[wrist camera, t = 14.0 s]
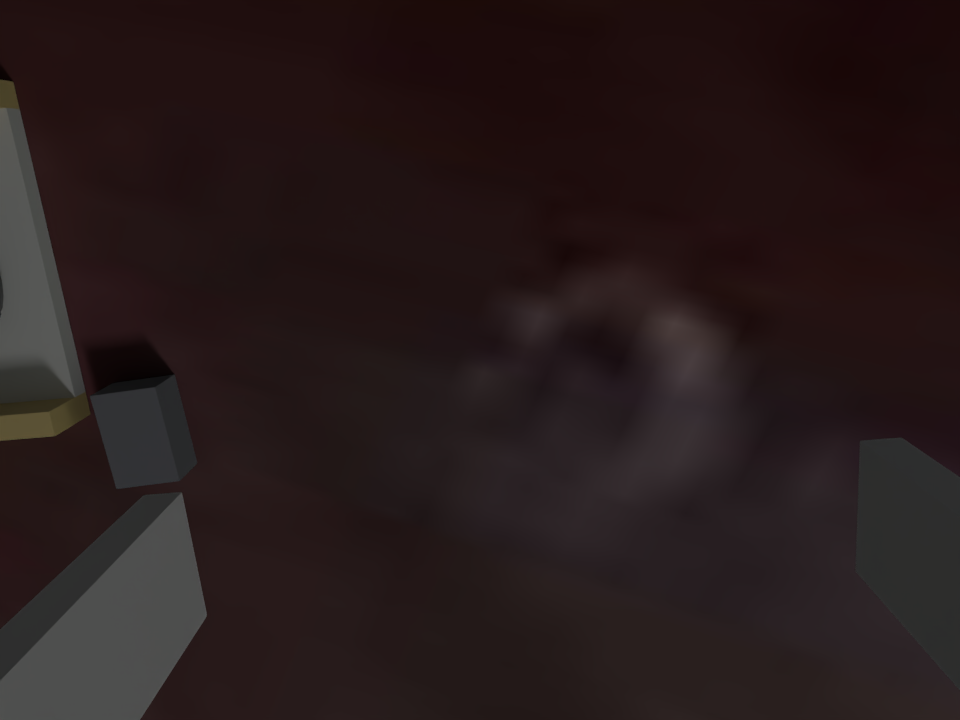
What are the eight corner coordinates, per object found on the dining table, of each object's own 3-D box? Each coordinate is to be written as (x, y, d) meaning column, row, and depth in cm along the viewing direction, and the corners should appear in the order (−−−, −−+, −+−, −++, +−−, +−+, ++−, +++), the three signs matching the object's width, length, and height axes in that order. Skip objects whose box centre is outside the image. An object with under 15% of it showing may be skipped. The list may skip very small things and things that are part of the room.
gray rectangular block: (114, 382, 48) (89, 396, 45) (175, 373, 48) (154, 387, 45) (139, 469, 49) (116, 488, 46) (198, 461, 49) (179, 480, 46)
